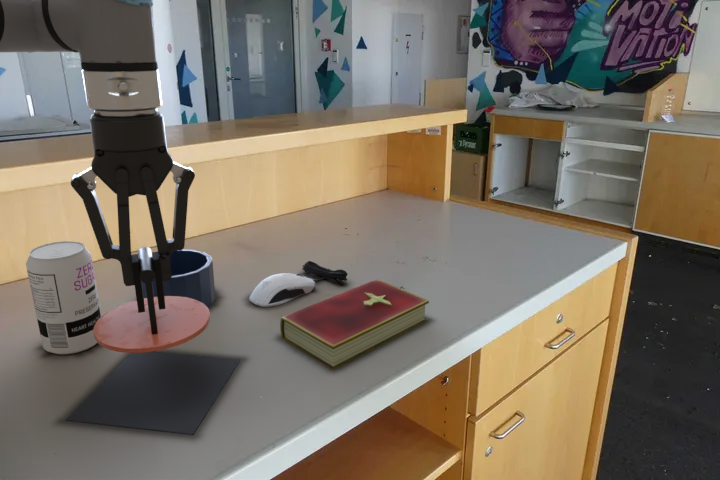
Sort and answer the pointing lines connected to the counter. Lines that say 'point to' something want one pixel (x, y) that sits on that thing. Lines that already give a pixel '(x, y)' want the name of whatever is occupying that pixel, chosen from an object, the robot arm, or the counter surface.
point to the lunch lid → (151, 319)
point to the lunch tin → (189, 277)
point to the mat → (157, 392)
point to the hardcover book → (353, 322)
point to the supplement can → (64, 296)
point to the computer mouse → (291, 285)
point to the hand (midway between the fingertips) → (151, 305)
